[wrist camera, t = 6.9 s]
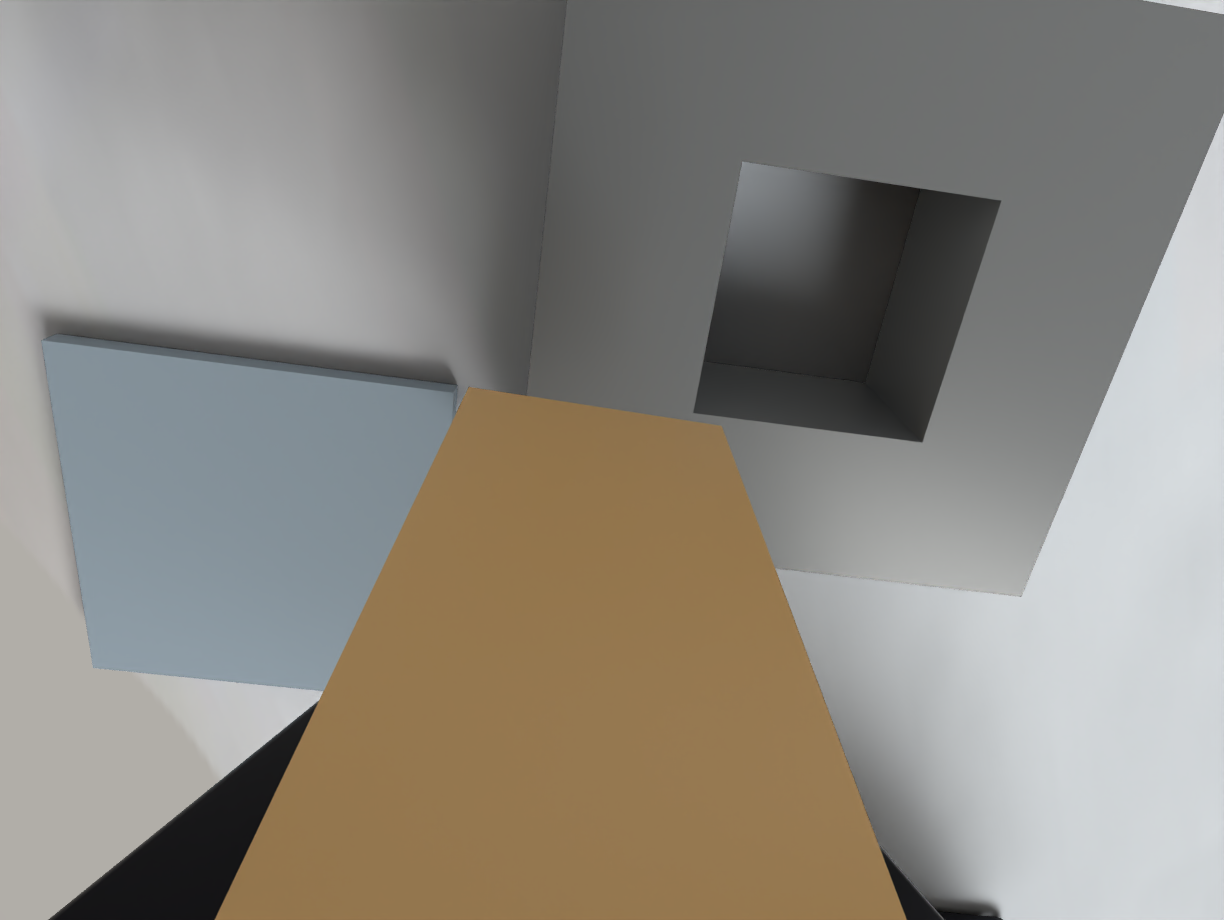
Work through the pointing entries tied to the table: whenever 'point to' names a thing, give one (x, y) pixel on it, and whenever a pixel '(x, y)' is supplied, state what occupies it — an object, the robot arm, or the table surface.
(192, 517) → the pad
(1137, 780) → the table surface
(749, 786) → the tan rectangular block
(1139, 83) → the grey square hole base
